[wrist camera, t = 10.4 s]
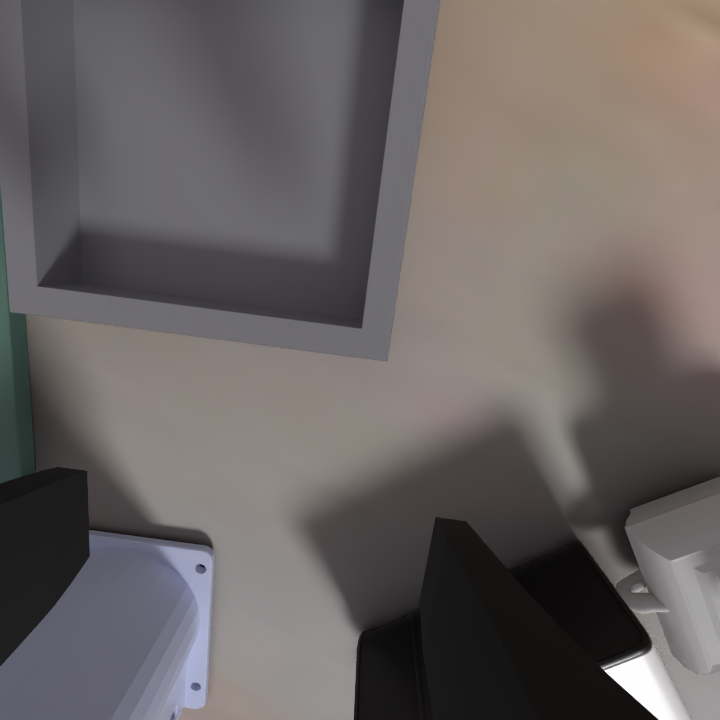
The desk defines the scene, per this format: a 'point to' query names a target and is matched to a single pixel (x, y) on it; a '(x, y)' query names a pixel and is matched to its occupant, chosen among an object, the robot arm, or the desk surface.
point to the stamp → (680, 571)
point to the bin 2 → (213, 164)
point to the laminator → (563, 604)
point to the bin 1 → (13, 384)
